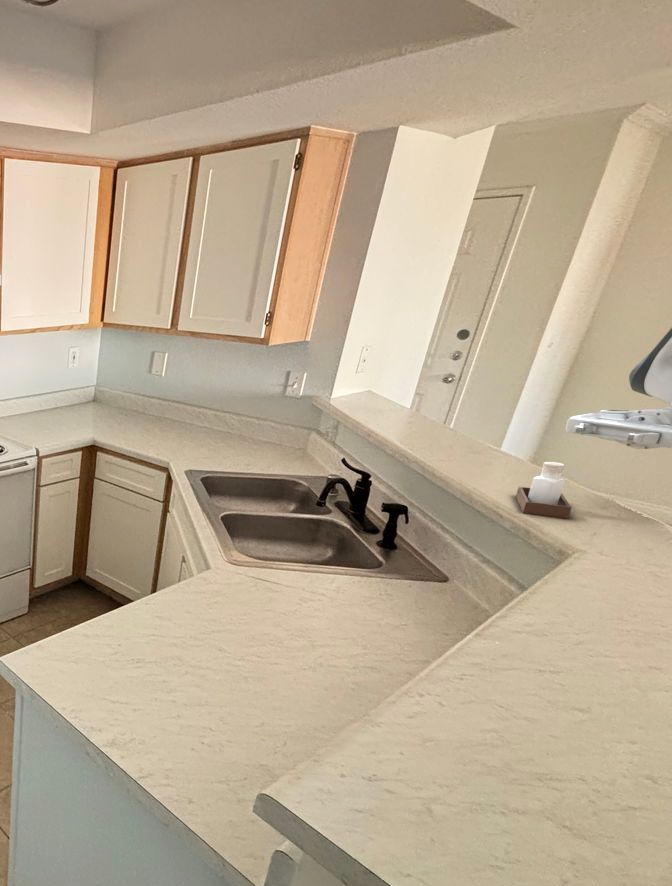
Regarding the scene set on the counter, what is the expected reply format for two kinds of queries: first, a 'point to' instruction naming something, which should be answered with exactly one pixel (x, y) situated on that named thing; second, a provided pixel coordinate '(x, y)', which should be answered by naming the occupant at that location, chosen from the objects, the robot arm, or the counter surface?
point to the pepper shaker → (547, 484)
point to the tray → (542, 505)
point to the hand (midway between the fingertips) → (603, 434)
